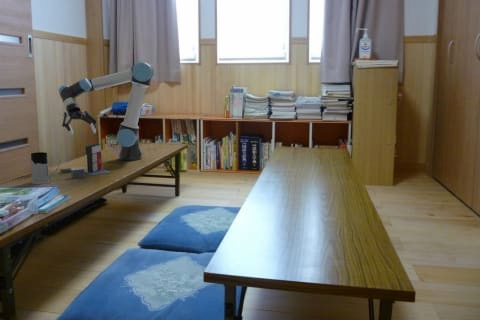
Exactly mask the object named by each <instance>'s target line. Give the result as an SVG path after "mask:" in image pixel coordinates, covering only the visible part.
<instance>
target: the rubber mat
mask: <svg viewBox="0 0 480 320" xmlns="http://www.w3.org/2000/svg"><path fill="white" fill-rule="evenodd" d="M111 173H112V172H111V171H110V170H106V169H104V168H102V169H100V170H98V171H96V172H93V173H88V169H87V168H86V169H84V174H86V175H87V174H88V175H90V176H98V175H99V176H100V175H105V174H111Z"/></svg>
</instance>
